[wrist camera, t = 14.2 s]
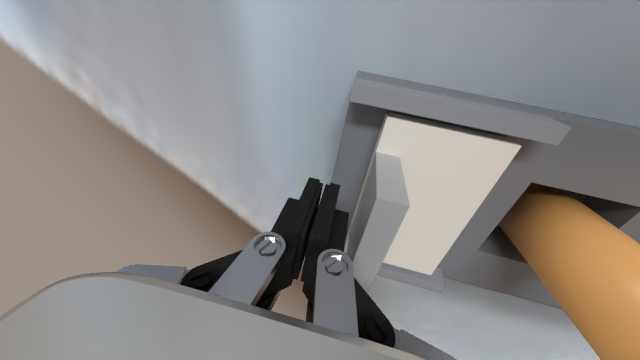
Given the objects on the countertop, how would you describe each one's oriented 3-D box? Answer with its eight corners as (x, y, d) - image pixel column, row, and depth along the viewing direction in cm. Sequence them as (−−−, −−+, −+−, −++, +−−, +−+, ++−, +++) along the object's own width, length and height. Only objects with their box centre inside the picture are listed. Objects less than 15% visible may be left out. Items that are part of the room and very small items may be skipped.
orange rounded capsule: (575, 180, 14) (827, 335, 6) (550, 231, 16) (722, 399, 8) (501, 179, 15) (644, 315, 7) (486, 228, 17) (586, 378, 9)
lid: (510, 138, 11) (592, 199, 7) (428, 263, 16) (446, 340, 12) (386, 111, 12) (393, 153, 7) (344, 241, 17) (335, 308, 13)
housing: (837, 167, 11) (1022, 220, 8) (623, 299, 18) (678, 357, 15) (358, 70, 13) (352, 82, 10) (323, 221, 20) (314, 258, 17)
